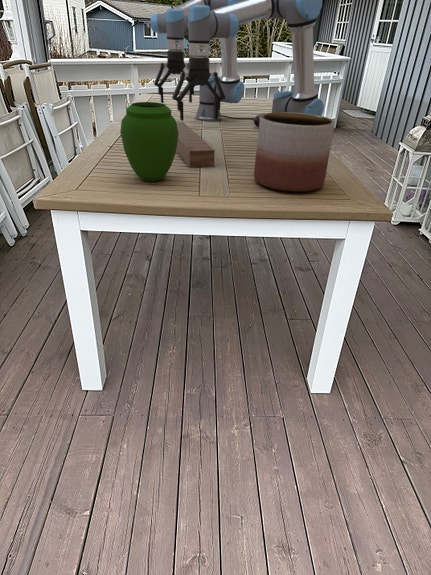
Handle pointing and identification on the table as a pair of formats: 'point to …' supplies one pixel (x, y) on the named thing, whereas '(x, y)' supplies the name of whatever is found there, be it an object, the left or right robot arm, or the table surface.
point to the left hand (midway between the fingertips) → (176, 102)
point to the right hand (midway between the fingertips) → (198, 119)
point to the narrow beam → (193, 148)
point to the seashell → (257, 119)
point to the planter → (293, 151)
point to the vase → (149, 139)
